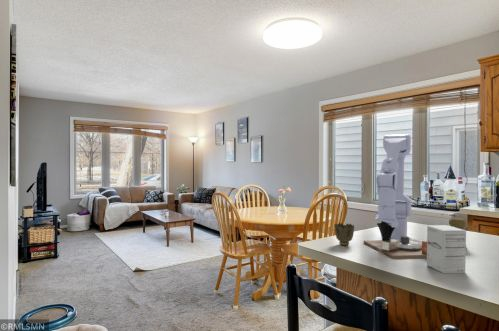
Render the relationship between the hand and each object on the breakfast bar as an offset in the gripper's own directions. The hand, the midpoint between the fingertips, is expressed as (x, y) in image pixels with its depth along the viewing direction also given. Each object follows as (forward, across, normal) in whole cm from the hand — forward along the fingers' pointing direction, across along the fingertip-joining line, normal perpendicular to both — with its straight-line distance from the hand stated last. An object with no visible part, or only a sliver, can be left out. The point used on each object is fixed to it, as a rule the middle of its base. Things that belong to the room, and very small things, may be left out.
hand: (386, 243), depth 112 cm
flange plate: (+1, -1, +5) cm, 6 cm away
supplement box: (+3, +19, +10) cm, 22 cm away
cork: (+3, -6, +29) cm, 30 cm away
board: (+3, -2, +8) cm, 8 cm away
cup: (+3, -7, -13) cm, 15 cm away
